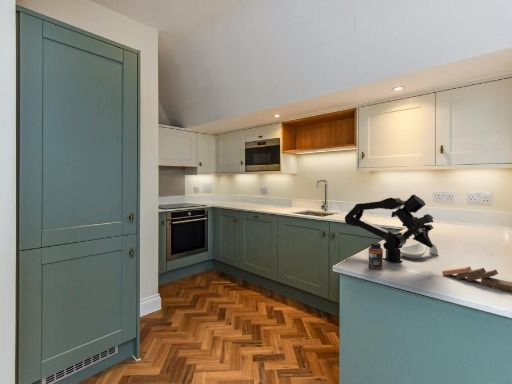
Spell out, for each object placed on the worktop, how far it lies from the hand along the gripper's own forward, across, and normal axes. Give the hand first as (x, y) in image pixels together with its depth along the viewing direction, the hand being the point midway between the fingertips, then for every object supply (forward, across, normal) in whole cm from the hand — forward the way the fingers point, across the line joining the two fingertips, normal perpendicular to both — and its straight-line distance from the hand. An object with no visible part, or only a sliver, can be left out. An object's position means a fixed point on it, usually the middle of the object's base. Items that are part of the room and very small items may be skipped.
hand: (432, 247), depth 124 cm
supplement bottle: (-4, -17, +19) cm, 26 cm away
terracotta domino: (+11, 0, +3) cm, 11 cm away
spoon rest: (-2, +21, +17) cm, 27 cm away
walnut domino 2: (+17, 0, -4) cm, 17 cm away
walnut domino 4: (+20, 0, -6) cm, 21 cm away
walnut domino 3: (+19, 0, -7) cm, 21 cm away
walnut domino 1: (+14, 0, -1) cm, 14 cm away
